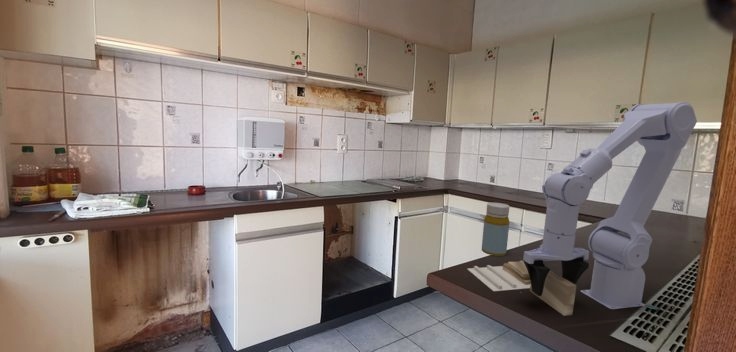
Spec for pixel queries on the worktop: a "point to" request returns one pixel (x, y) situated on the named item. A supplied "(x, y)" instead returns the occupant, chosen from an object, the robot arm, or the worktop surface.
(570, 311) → the birch panel
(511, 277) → the board
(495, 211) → the bottle
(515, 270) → the offcut stack
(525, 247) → the worktop surface
